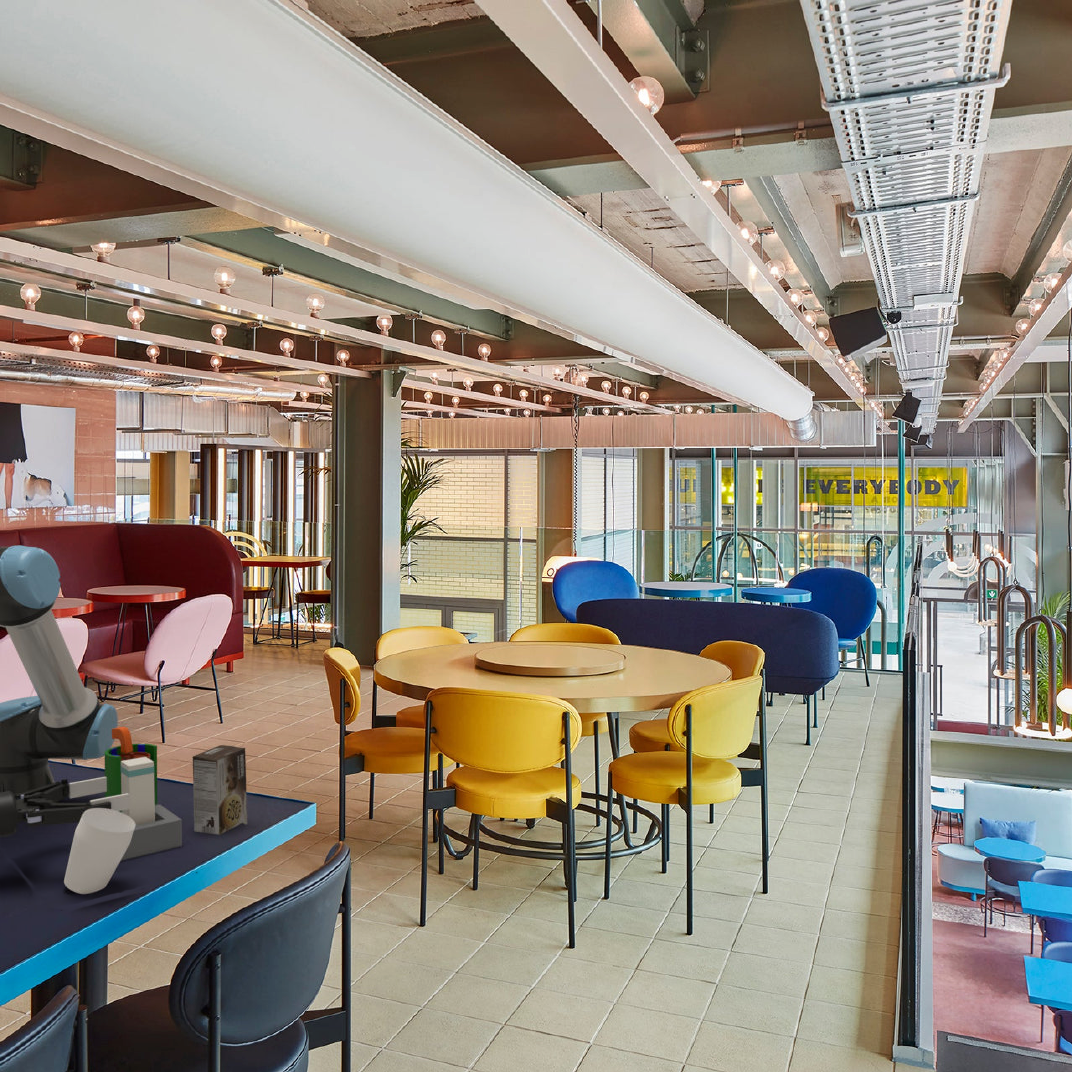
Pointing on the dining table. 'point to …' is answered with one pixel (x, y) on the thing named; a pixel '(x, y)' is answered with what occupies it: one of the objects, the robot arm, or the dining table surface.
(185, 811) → the dining table surface
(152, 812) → the plug
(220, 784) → the coffee box
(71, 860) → the cup
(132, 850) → the socket
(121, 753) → the motor
